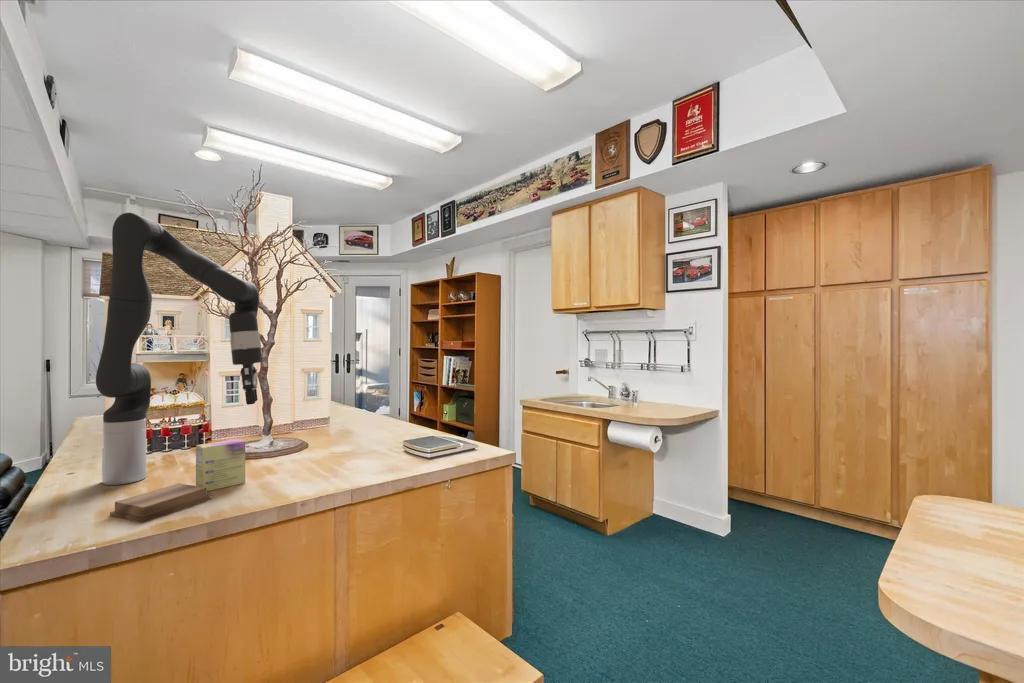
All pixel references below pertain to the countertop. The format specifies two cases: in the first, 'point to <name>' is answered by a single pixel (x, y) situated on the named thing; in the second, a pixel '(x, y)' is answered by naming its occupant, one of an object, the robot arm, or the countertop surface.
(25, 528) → the countertop surface
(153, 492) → the plinth
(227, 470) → the box
